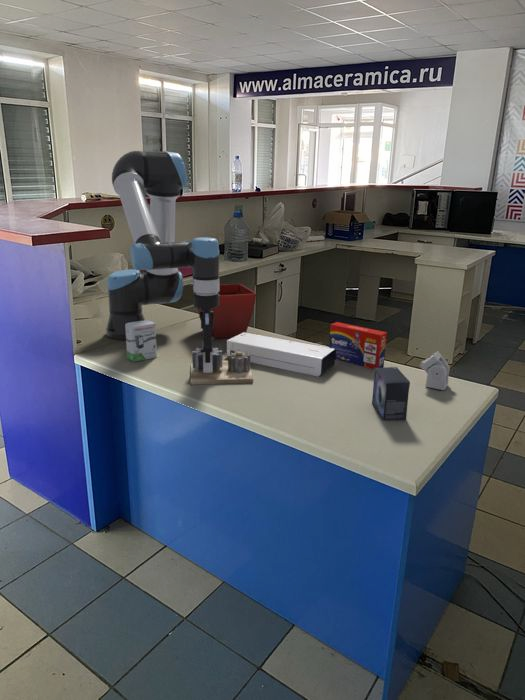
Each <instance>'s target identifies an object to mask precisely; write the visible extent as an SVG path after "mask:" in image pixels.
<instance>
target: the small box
mask: <svg viewBox="0 0 525 700" xmlns="http://www.w3.org/2000/svg"><path fill="white" fill-rule="evenodd" d="M410 387H411V382H410V380H409V379H408V378H407V377H406V375H405V374H404V373H402V371H401V370H400V369H399V368H398V367H397V366H391V367H390V366H387V367H383V368H375V370H374V374H373V388H372V400H371V402H372V403H371V404H372V406H373V407H374V409H375V411H377V414H378V415H379V416H380V418H381V419H382V421H406V420H407V416H408V415H407V414H408V405H409V404H408V402H409V392H410Z"/></svg>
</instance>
